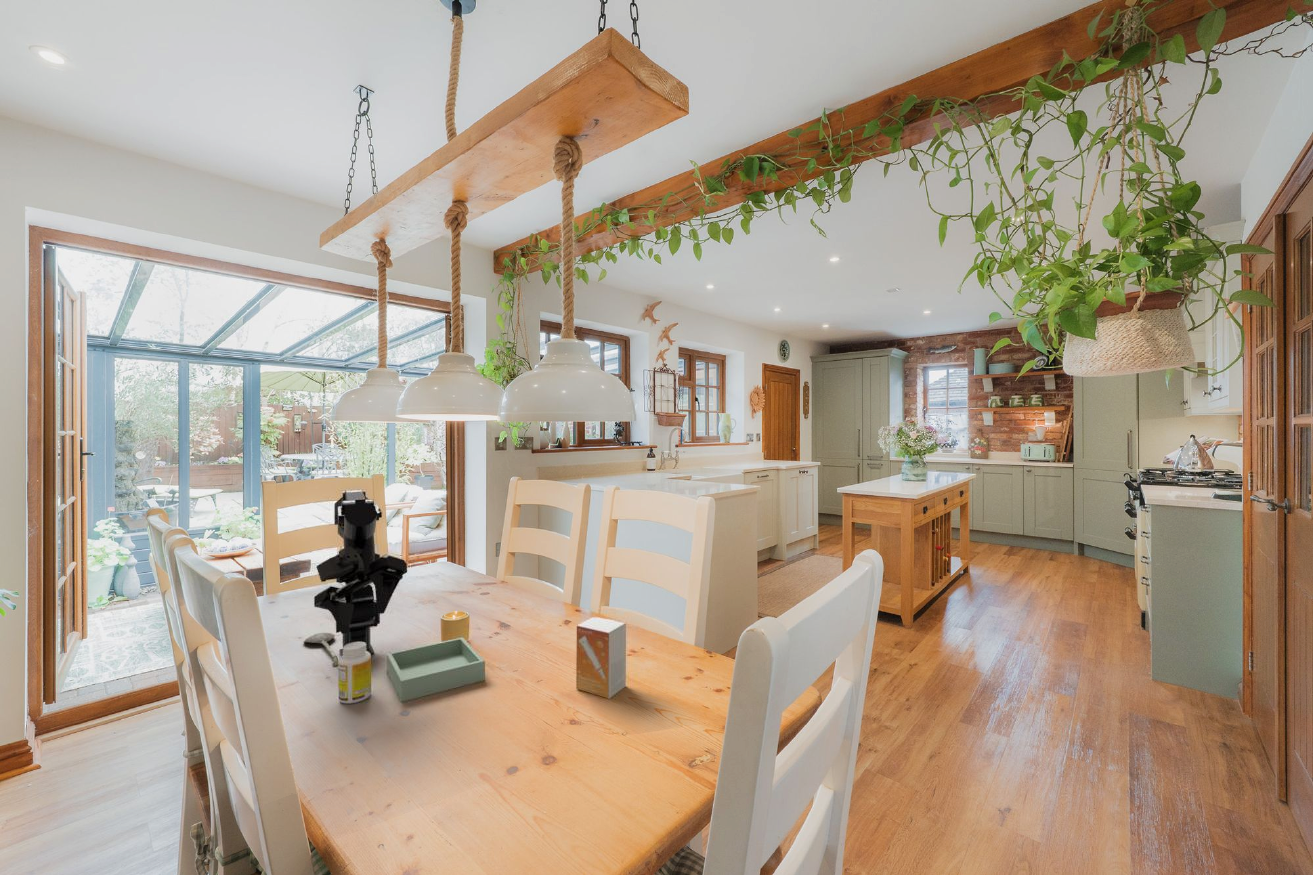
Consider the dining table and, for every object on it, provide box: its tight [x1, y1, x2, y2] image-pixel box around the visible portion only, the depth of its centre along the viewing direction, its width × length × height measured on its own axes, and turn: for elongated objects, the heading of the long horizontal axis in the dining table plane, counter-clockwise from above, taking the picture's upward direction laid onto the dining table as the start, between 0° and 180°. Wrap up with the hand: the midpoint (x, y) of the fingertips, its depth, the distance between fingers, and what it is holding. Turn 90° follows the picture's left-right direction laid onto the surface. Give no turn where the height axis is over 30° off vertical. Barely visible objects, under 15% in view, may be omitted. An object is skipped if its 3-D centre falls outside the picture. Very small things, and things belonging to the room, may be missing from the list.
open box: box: [386, 637, 486, 703], centre depth 115 cm, size 16×16×4 cm
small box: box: [575, 616, 627, 700], centre depth 110 cm, size 8×6×13 cm
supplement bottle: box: [337, 642, 372, 705], centre depth 106 cm, size 6×6×10 cm
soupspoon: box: [303, 632, 339, 667], centre depth 129 cm, size 22×3×7 cm
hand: (362, 623), depth 106 cm, fingers open, 9 cm apart
